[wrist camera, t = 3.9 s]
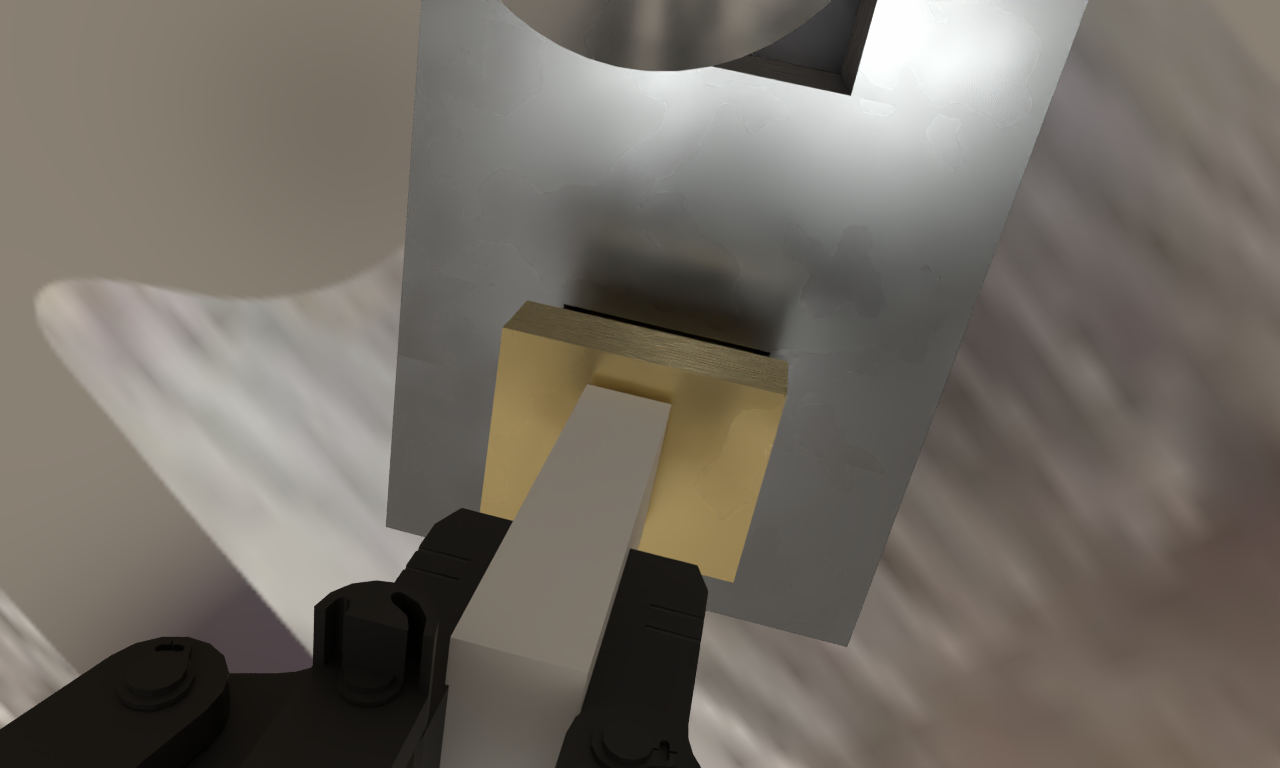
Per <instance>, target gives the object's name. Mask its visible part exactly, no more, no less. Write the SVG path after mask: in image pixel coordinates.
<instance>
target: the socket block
mask: <svg viewBox="0 0 1280 768" xmlns="http://www.w3.org/2000/svg"><path fill="white" fill-rule="evenodd" d="M1087 3H1088V0H860V4H859V7H858V11H857V15H856V18H855V22H854V26H853V30H852V33H851V37H850V41H849V44H848V48H847V52H846V56H845V59H844V63H843V67H842V71H841V74H836V73H831V72H826V71H822V70H817V69H812V68H807V67H802V66H798V65H793V64H788V63H783V62H779V61H774V60H769V59H764V58H760V57H755V56H750V55H746V56H744V57H741V58H739V59H735V60H732V61H728V62H725V63H721V64H718V65H714V66H711V67H705V68H698V69H691V70H684V71H642V70H635V69H628V68H621V67H616V66H612V65H609V64H605V63H602V62H599V61H595V60H592V59H588V58H586V57H584V56H581V55H579V54H577V53H575V52H572V51H570V50H568V49H566V48H563V47H561V46H559V45H558V44H556V43H554V42H553V41H551V40H549V39H548V38H546V37H545V36H543V35H541V34H540V33H538V32H536V31H535V30H533V29H532V28H531V27H530V26H528V25H527V24H526V23H525V22H523V21H522V20H521V19H520V18H519V17H517V16H516V15H515V14H514V13H512V12H511V11H510V10H509V9H508V8H507V7H506V6H505V5H504V4H503V3H502V2H501V1H500V0H422V1H421V15H420V16H421V17H420V30H419V45H418V60H417V74H416V75H417V76H416V89H415V104H414V119H413V134H412V149H411V163H410V178H409V194H408V207H407V222H406V237H405V252H404V267H403V281H402V296H401V311H400V326H399V341H398V355H397V370H396V385H395V400H394V415H393V429H392V444H391V459H390V474H389V488H388V503H387V518H386V527H389V528H392V529H396V530H400V531H404V532H408V533H412V534H415V535H419V536H423V537H426V536H427V534H428V533H429V531H430V530H431V528H432V527H433V526H434V524H435V523H437V522H439V521H440V520H442V519H444V518H445V517H447V516H449V515H450V514H452V513H454V512H455V511H457V510H459V509H460V508H465V509H469V510H472V511H476V512H480V507H481V499H482V491H483V483H484V475H485V467H486V458H487V450H488V442H489V434H490V426H491V418H492V410H493V402H494V393H495V385H496V377H497V369H498V361H499V353H500V345H501V337H502V329H503V326H504V325H505V324H506V323H507V322H508V321H509V320H510V319H511V318H512V317H513V315H514V314H515V313H516V312H517V311H518V310H519V309H520V308H521V307H522V305H523V304H524V303H525V302H526V301H527V300H529V301H533V302H537V303H542V304H546V305H550V306H554V307H559V308H563V309H567V310H571V311H576V312H581V311H582V309H583V308H584V309H588V310H592V311H597V312H601V313H605V314H609V315H613V316H618V317H622V318H626V319H630V320H635V321H639V322H643V323H647V324H652V325H656V326H660V327H664V328H669V329H673V330H677V331H681V332H686V333H690V334H694V335H698V336H703V337H707V338H711V339H715V340H719V341H724V342H728V343H732V344H736V345H741V346H745V347H749V348H753V349H758V350H759V351H758V355H762V356H766V357H770V358H774V359H779V360H783V361H787V362H788V385H787V398H786V401H785V405H784V408H783V412H782V415H781V419H780V422H779V426H778V429H777V433H776V436H775V440H774V443H773V446H772V450H771V453H770V457H769V460H768V464H767V467H766V471H765V474H764V478H763V481H762V485H761V488H760V492H759V495H758V499H757V502H756V506H755V509H754V513H753V516H752V520H751V523H750V527H749V530H748V534H747V537H746V541H745V544H744V547H743V551H742V554H741V558H740V561H739V565H738V568H737V572H736V575H735V579H734V582H733V583H732V582H728V581H724V580H720V579H717V578H713V577H709V576H705V575H702V577H703V580H704V582H705V584H706V587H707V589H708V598H707V604H706V610H707V611H711V612H715V613H719V614H723V615H726V616H730V617H734V618H738V619H742V620H746V621H749V622H753V623H757V624H761V625H765V626H769V627H772V628H776V629H780V630H784V631H788V632H792V633H796V634H799V635H803V636H807V637H811V638H815V639H819V640H822V641H826V642H830V643H834V644H838V645H842V646H845V647H847V646H848V643H849V641H850V638H851V635H852V633H853V630H854V627H855V625H856V622H857V619H858V617H859V614H860V611H861V609H862V606H863V603H864V601H865V598H866V595H867V593H868V590H869V587H870V585H871V582H872V579H873V576H874V574H875V571H876V568H877V566H878V563H879V560H880V558H881V555H882V552H883V550H884V547H885V544H886V542H887V539H888V536H889V534H890V531H891V528H892V526H893V523H894V520H895V518H896V515H897V512H898V509H899V507H900V504H901V501H902V499H903V496H904V493H905V491H906V488H907V485H908V483H909V480H910V477H911V475H912V472H913V469H914V467H915V464H916V461H917V459H918V456H919V453H920V451H921V448H922V445H923V442H924V440H925V437H926V434H927V432H928V429H929V426H930V424H931V421H932V418H933V416H934V413H935V410H936V408H937V405H938V402H939V400H940V397H941V394H942V392H943V389H944V386H945V384H946V381H947V378H948V375H949V373H950V370H951V367H952V365H953V362H954V359H955V357H956V354H957V351H958V349H959V346H960V343H961V341H962V338H963V335H964V333H965V330H966V327H967V325H968V322H969V319H970V317H971V314H972V311H973V308H974V306H975V303H976V300H977V298H978V295H979V292H980V290H981V287H982V284H983V282H984V279H985V276H986V274H987V271H988V268H989V266H990V263H991V260H992V258H993V255H994V252H995V250H996V247H997V244H998V241H999V239H1000V236H1001V233H1002V231H1003V228H1004V225H1005V223H1006V220H1007V217H1008V215H1009V212H1010V209H1011V207H1012V204H1013V201H1014V199H1015V196H1016V193H1017V191H1018V188H1019V185H1020V183H1021V180H1022V177H1023V174H1024V172H1025V169H1026V166H1027V164H1028V161H1029V158H1030V156H1031V153H1032V150H1033V148H1034V145H1035V142H1036V140H1037V137H1038V134H1039V132H1040V129H1041V126H1042V124H1043V121H1044V118H1045V116H1046V113H1047V110H1048V107H1049V105H1050V102H1051V99H1052V97H1053V94H1054V91H1055V89H1056V86H1057V83H1058V81H1059V78H1060V75H1061V73H1062V70H1063V67H1064V65H1065V62H1066V59H1067V57H1068V54H1069V51H1070V49H1071V46H1072V43H1073V40H1074V38H1075V35H1076V32H1077V30H1078V27H1079V24H1080V22H1081V19H1082V16H1083V14H1084V11H1085V8H1086V6H1087Z"/></svg>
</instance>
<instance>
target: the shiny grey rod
mask: <svg viewBox="0 0 1280 768" xmlns="http://www.w3.org/2000/svg"><path fill="white" fill-rule="evenodd" d="M500 1H501V2H502V3H503V4H504V5H505V6H506V7H507V8H508V9H509V10H510V11H511V12H512V13H514V14H515V15H516V16H517V17H519V18H520V19H521V20H522V21H523V22H525V23H526V24H527V25H528V26H530V27H531V28H532V29H533V30H535V31H536V32H538V33H540V34H541V35H543V36H545V37H546V38H548V39H549V40H551V41H553V42H554V43H556V44H558V45H559V46H561V47H563V48H566V49H568V50H570V51H572V52H575V53H577V54H579V55H581V56H584V57H586V58H588V59H592V60H595V61H599V62H602V63H605V64H609V65H612V66H616V67H621V68H628V69H635V70H642V71H684V70H691V69H698V68H705V67H711V66H714V65H718V64H721V63H725V62H728V61H732V60H735V59H739V58H741V57H744V56H746V55H748V54H751V53H753V52H755V51H757V50H760V49H762V48H764V47H767V46H769V45H771V44H772V43H774V42H776V41H777V40H779V39H781V38H782V37H784V36H786V35H787V34H789V33H791V32H792V31H794V30H796V29H797V28H799V27H800V26H801V25H803V24H804V23H805V22H806V21H808V20H809V19H810V18H812V17H813V16H814V15H815V14H817V13H818V12H819V11H820V10H822V9H823V8H824V7H826V6H827V5H828V4H829V3H830V2H831V1H832V0H500Z"/></svg>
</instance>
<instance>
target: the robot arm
mask: <svg viewBox="0 0 1280 768" xmlns="http://www.w3.org/2000/svg"><path fill="white" fill-rule="evenodd" d="M670 408H671V404H668V403H664V402H659V401H655V400H651V399H647V398H643V397H639V396H634V395H630V394H626V393H622V392H618V391H614V390H610V389H605V388H601V387H597V386H593V385H589V384H587V385H586V387H585V389H584V391H583V393H582V395H581V397H580V398H579V400H578V402H577V404H576V406H575V408H574V410H573V411H572V413H571V415H570V417H569V419H568V421H567V422H566V424H565V426H564V428H563V430H562V432H561V434H560V435H559V437H558V439H557V441H556V443H555V445H554V447H553V448H552V450H551V452H550V454H549V456H548V458H547V460H546V461H545V463H544V465H543V467H542V469H541V471H540V472H539V474H538V476H537V478H536V480H535V482H534V484H533V485H532V487H531V489H530V491H529V493H528V495H527V497H526V498H525V500H524V502H523V504H522V506H521V508H520V509H519V511H518V513H517V515H516V517H515V519H514V521H512V520H508V519H504V518H500V517H496V516H492V515H488V514H484V513H480V512H476V511H472V510H469V509H465V508H460V509H459V510H457V511H455V512H454V513H452V514H450V515H449V516H447V517H445V518H444V519H442V520H440V521H439V522H437V523H435V524H434V526H433V527H432V528H431V530H430V531H429V533H428V534H427V536H426V537H425V539H424V540H423V542H422V543H421V545H420V546H419V549H418V551H416V552H415V553H414V555H413V556H412V558H411V559H410V561H409V562H408V564H407V565H406V569H405V570H403V571H402V572H401V574H400V575H399V577H398V578H397V580H396V581H395V583H393V582H385V581H377V580H376V581H369V582H361V583H353V584H350V585H348V586H345V587H343V588H340V589H338V590H335V591H333V592H331V593H329V594H328V595H327V596H326V597H325V598H324V599H322V600H321V601H320V602H319V603H318V604H316V605H315V606H314V643H313V666H312V667H311V668H309V669H305V670H301V671H297V672H288V673H269V674H268V673H261V674H260V673H249V674H248V673H235V674H234V673H231V674H230V673H229V671H228V668H227V664H226V661H225V657H224V655H222V654H221V653H220V652H219V651H218V650H217V649H215V648H214V647H213V646H212V645H211V644H209V643H206V642H203V641H200V640H196V639H193V638H190V637H160V638H156V639H152V640H147V641H143V642H139V643H135V644H133V645H131V646H129V647H127V648H125V649H123V650H121V651H119V652H117V653H115V654H113V655H111V656H109V657H108V658H107V659H105V660H103V661H102V662H100V663H99V664H97V665H96V666H94V667H93V668H92V669H90V670H89V671H87V672H86V673H84V674H82V675H81V676H79V677H78V678H76V679H75V680H73V681H72V682H70V683H69V684H67V685H66V686H64V687H63V688H61V689H60V690H58V691H57V692H55V693H54V694H52V695H51V696H50V697H48V698H47V699H45V700H44V701H42V702H41V703H39V704H38V705H36V706H35V707H33V708H32V709H30V710H29V711H27V712H26V713H24V714H23V715H21V716H20V717H18V718H17V719H15V720H14V721H12V722H11V723H9V724H8V725H6V726H5V727H3V728H2V729H0V768H701V767H700V765H699V763H698V762H697V760H696V758H695V757H694V755H693V752H692V749H691V746H690V742H689V739H688V723H689V716H690V710H691V703H692V697H693V690H694V683H695V677H696V670H697V664H698V657H699V650H700V642H701V637H702V631H703V624H704V623H703V622H704V617H705V611H706V604H707V598H708V589H707V587H706V584H705V582H704V580H703V577H702V575H701V572H700V570H699V567H698V565H694V564H691V563H687V562H683V561H679V560H675V559H671V558H667V557H663V556H659V555H655V554H651V553H647V552H643V551H639V550H638V547H639V544H640V540H641V537H642V534H643V529H644V525H645V520H646V516H647V511H648V507H649V502H650V498H651V493H652V489H653V484H654V480H655V476H656V471H657V467H658V462H659V458H660V453H661V449H662V444H663V440H664V435H665V431H666V426H667V422H668V417H669V413H670Z"/></svg>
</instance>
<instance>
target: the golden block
mask: <svg viewBox="0 0 1280 768" xmlns="http://www.w3.org/2000/svg"><path fill="white" fill-rule="evenodd" d="M754 353H755V349H753V348H749V347H745V346H741V345H736V344H732V343H728V342H724V341H719V340H715V339H711V338H707V337H703V336H698V335H694V334H690V333H686V332H681V331H677V330H673V329H669V328H664V327H660V326H656V325H652V324H647V323H643V322H639V321H635V320H630V319H626V318H622V317H618V316H613V315H609V314H605V313H601V312H597V311H592V310H588V309H584V308H583V309H582V311H581V312H576V311H571V310H567V309H563V308H559V307H554V306H550V305H546V304H542V303H537V302H533V301H529V300H527V301H526V302H525V303H524V304H523V305H522V307H521V308H520V309H519V310H518V311H517V312H516V313H515V314H514V315H513V317H512V318H511V319H510V320H509V321H508V322H507V323H506V324H505V325H504V326H503V329H502V337H501V345H500V353H499V361H498V369H497V377H496V385H495V393H494V402H493V410H492V418H491V426H490V434H489V442H488V450H487V458H486V467H485V475H484V483H483V491H482V499H481V507H480V513H484V514H488V515H492V516H496V517H500V518H504V519H508V520H512V521H514V519H515V517H516V515H517V513H518V511H519V509H520V508H521V506H522V504H523V502H524V500H525V498H526V497H527V495H528V493H529V491H530V489H531V487H532V485H533V484H534V482H535V480H536V478H537V476H538V474H539V472H540V471H541V469H542V467H543V465H544V463H545V461H546V460H547V458H548V456H549V454H550V452H551V450H552V448H553V447H554V445H555V443H556V441H557V439H558V437H559V435H560V434H561V432H562V430H563V428H564V426H565V424H566V422H567V421H568V419H569V417H570V415H571V413H572V411H573V410H574V408H575V406H576V404H577V402H578V400H579V398H580V397H581V395H582V393H583V391H584V389H585V387H586V385H587V384H589V385H593V386H597V387H601V388H605V389H610V390H614V391H618V392H622V393H626V394H630V395H634V396H639V397H643V398H647V399H651V400H655V401H659V402H664V403H668V404H671V408H670V413H669V417H668V422H667V426H666V431H665V435H664V440H663V444H662V449H661V453H660V458H659V462H658V467H657V471H656V476H655V480H654V484H653V489H652V493H651V498H650V502H649V507H648V511H647V516H646V520H645V525H644V529H643V534H642V537H641V540H640V544H639V547H638V550H639V551H643V552H647V553H651V554H655V555H659V556H663V557H667V558H671V559H675V560H679V561H683V562H687V563H691V564H694V565H698V567H699V570H700V572H701V575H705V576H709V577H713V578H717V579H720V580H724V581H728V582H732V583H733V582H734V579H735V575H736V572H737V568H738V565H739V561H740V558H741V554H742V551H743V547H744V544H745V541H746V537H747V534H748V530H749V527H750V523H751V520H752V516H753V513H754V509H755V506H756V502H757V499H758V495H759V492H760V488H761V485H762V481H763V478H764V474H765V471H766V467H767V464H768V460H769V457H770V453H771V450H772V446H773V443H774V440H775V436H776V433H777V429H778V426H779V422H780V419H781V415H782V412H783V408H784V405H785V401H786V398H787V385H788V362H787V361H783V360H779V359H774V358H770V357H766V356H762V355H757V354H754Z"/></svg>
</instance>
